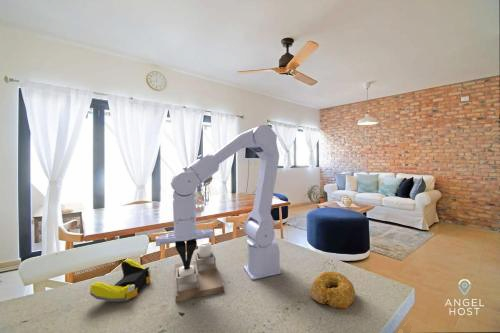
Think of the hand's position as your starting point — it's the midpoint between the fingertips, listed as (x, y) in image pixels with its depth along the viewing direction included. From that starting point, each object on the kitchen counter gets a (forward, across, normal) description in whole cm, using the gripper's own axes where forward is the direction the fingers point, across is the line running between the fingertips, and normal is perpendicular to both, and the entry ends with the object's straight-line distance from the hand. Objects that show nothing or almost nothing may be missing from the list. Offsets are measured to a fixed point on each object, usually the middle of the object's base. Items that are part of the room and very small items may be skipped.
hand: (186, 267), depth 58 cm
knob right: (+2, -6, -8) cm, 10 cm away
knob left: (+4, 0, 0) cm, 4 cm away
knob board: (+6, -3, -4) cm, 8 cm away
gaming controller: (+6, +16, -6) cm, 18 cm away
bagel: (+6, -34, +16) cm, 38 cm away
